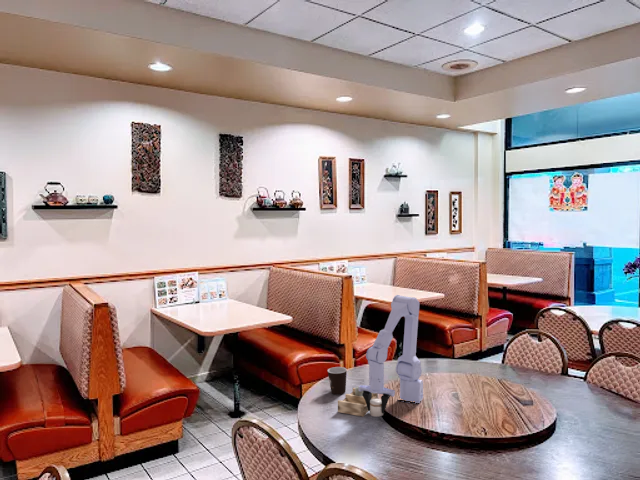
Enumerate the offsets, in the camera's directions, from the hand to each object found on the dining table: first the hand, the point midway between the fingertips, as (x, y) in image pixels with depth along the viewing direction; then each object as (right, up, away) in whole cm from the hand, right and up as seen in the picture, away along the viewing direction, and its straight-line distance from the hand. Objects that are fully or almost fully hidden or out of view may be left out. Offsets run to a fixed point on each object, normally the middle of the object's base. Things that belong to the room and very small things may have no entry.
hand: (376, 411), depth 195 cm
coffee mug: (-14, 0, +27) cm, 30 cm away
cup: (0, -1, 0) cm, 1 cm away
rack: (-7, -1, +8) cm, 11 cm away
